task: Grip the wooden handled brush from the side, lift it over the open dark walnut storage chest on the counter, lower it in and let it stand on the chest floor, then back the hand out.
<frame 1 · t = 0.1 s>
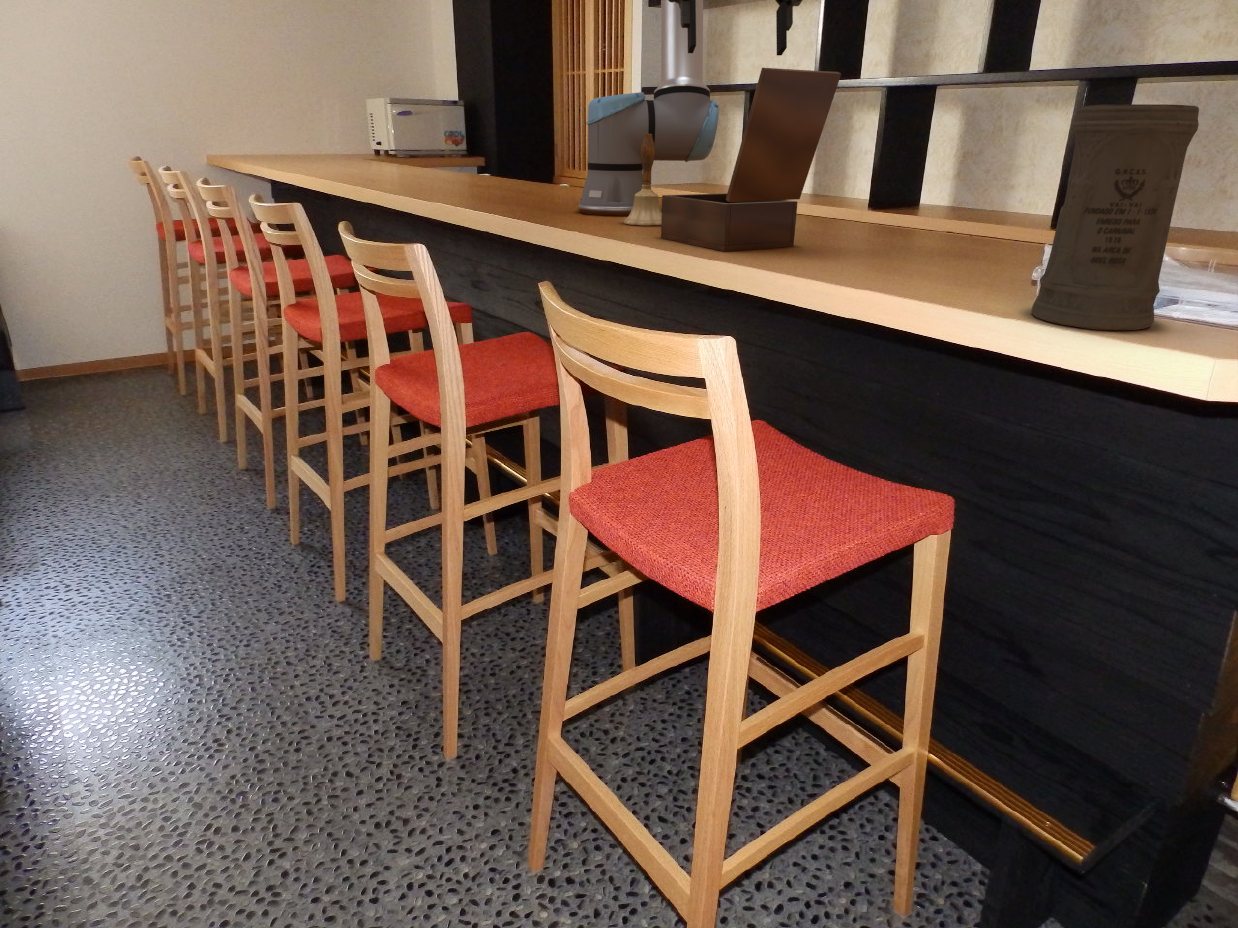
hand: (737, 51, 125), 28 cm above the table, tool tilted 20°, fingers open, 13 cm apart
chest lid: (782, 138, 120), point 16 cm above the table, hinge at 110.0°
wooden handled brush: (645, 224, 160), on the table
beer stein: (1082, 316, 86), on the table
chest: (725, 242, 136), on the table
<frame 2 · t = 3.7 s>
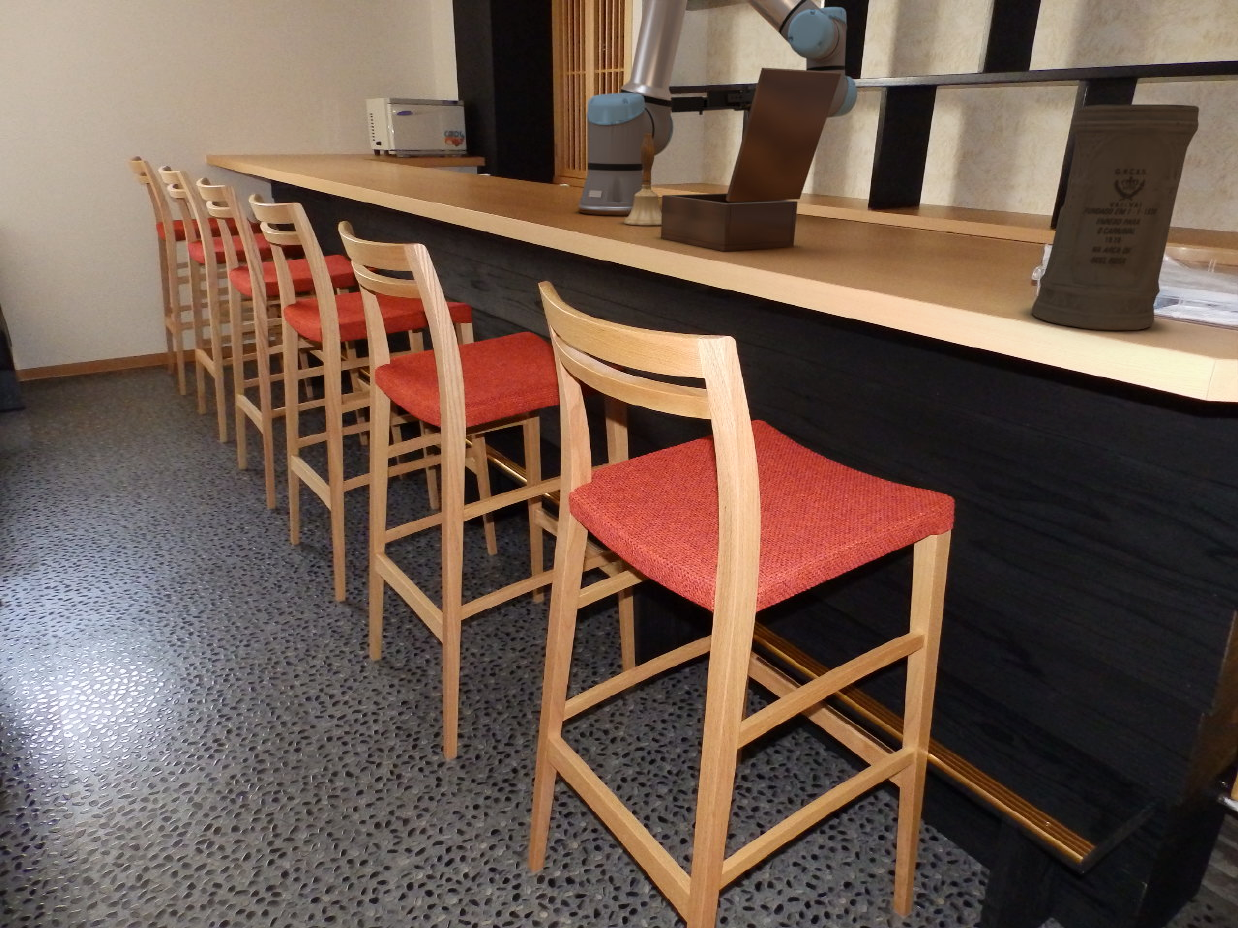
hand: (689, 102, 156), 21 cm above the table, tool horizontal, fingers open, 13 cm apart
nothing on the table moved.
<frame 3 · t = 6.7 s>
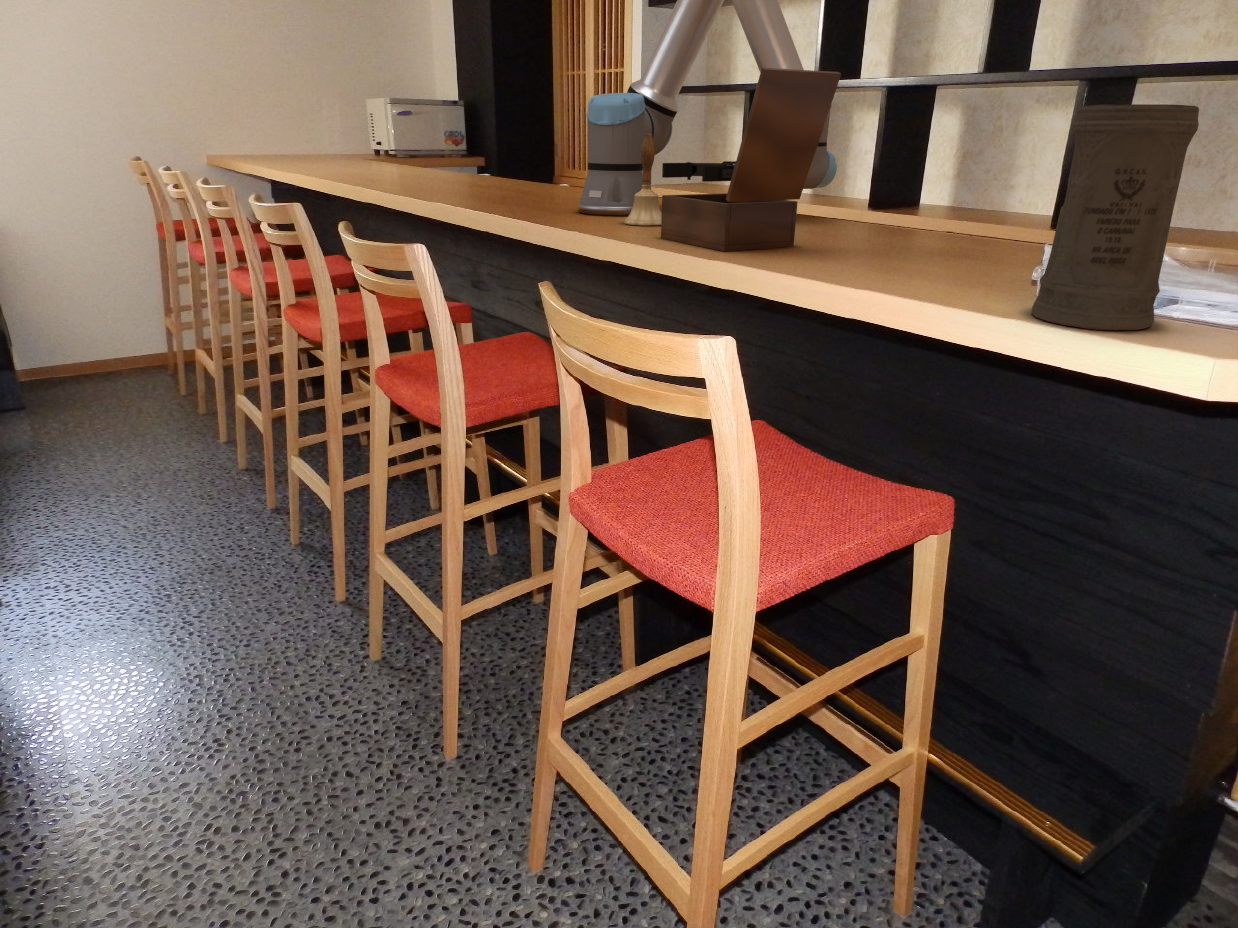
hand: (682, 172, 160), 9 cm above the table, tool horizontal, fingers open, 13 cm apart
nothing on the table moved.
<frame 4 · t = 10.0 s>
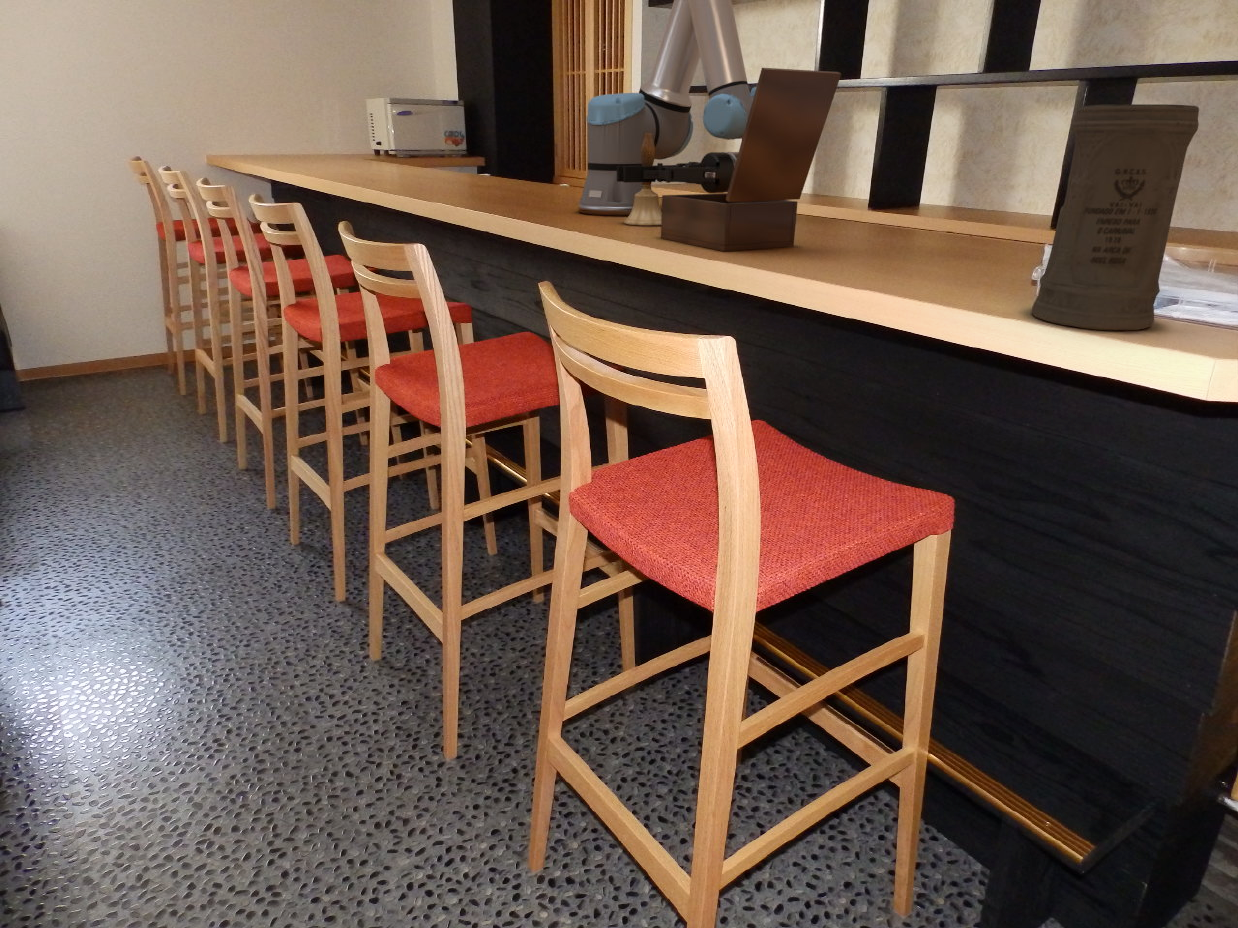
hand: (621, 174, 154), 9 cm above the table, tool horizontal, fingers closed on wooden handled brush, 2 cm apart
wooden handled brush: (645, 224, 160), on the table, touching gripper
everything else where it was.
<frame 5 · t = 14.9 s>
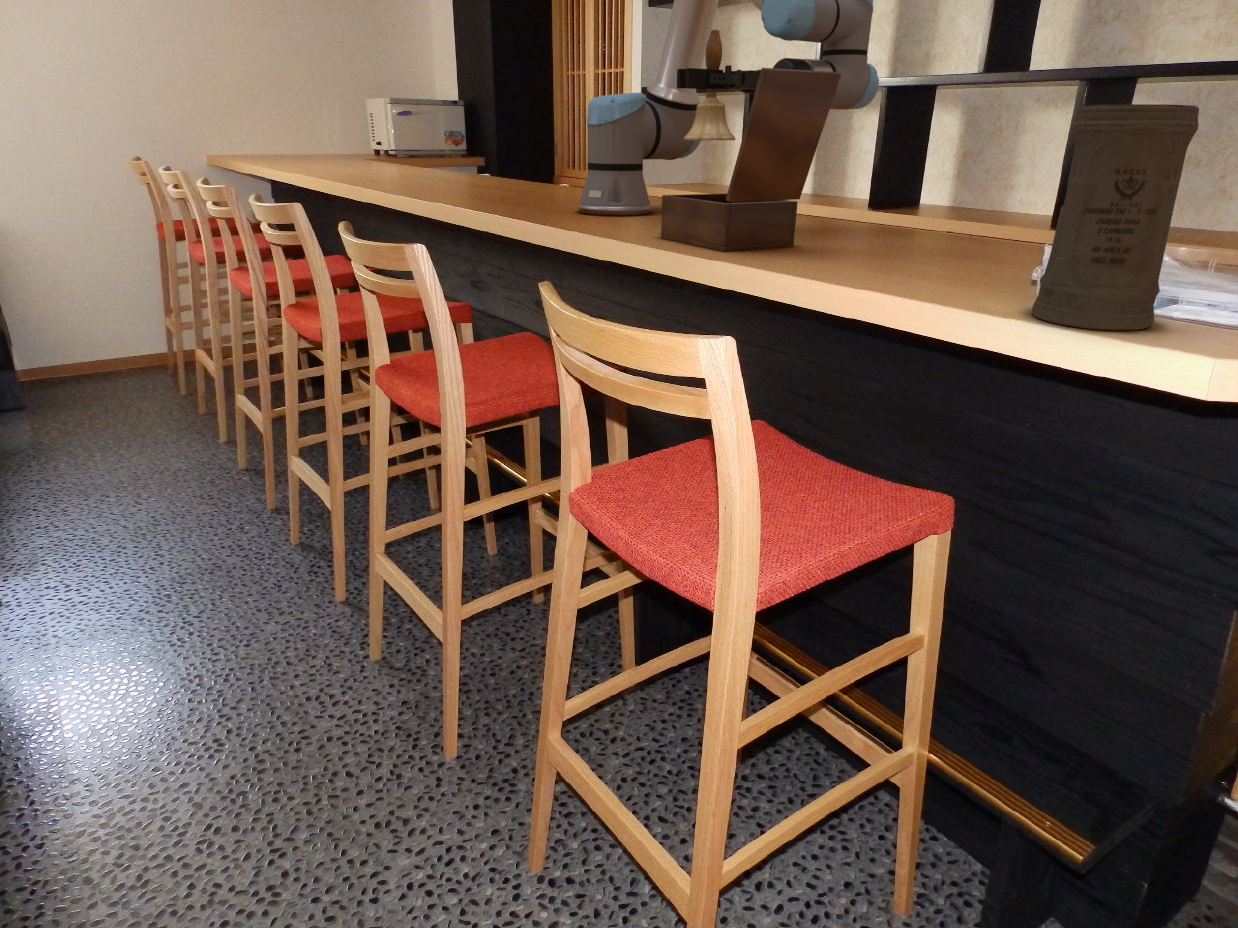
hand: (682, 78, 130), 24 cm above the table, tool horizontal, fingers closed on wooden handled brush, 2 cm apart
wooden handled brush: (709, 141, 136), point 15 cm above the table, touching gripper
everything else where it was.
when the fingers open (10 cm above the table, at t = 19.9 s): wooden handled brush stays where it is, resting on chest.
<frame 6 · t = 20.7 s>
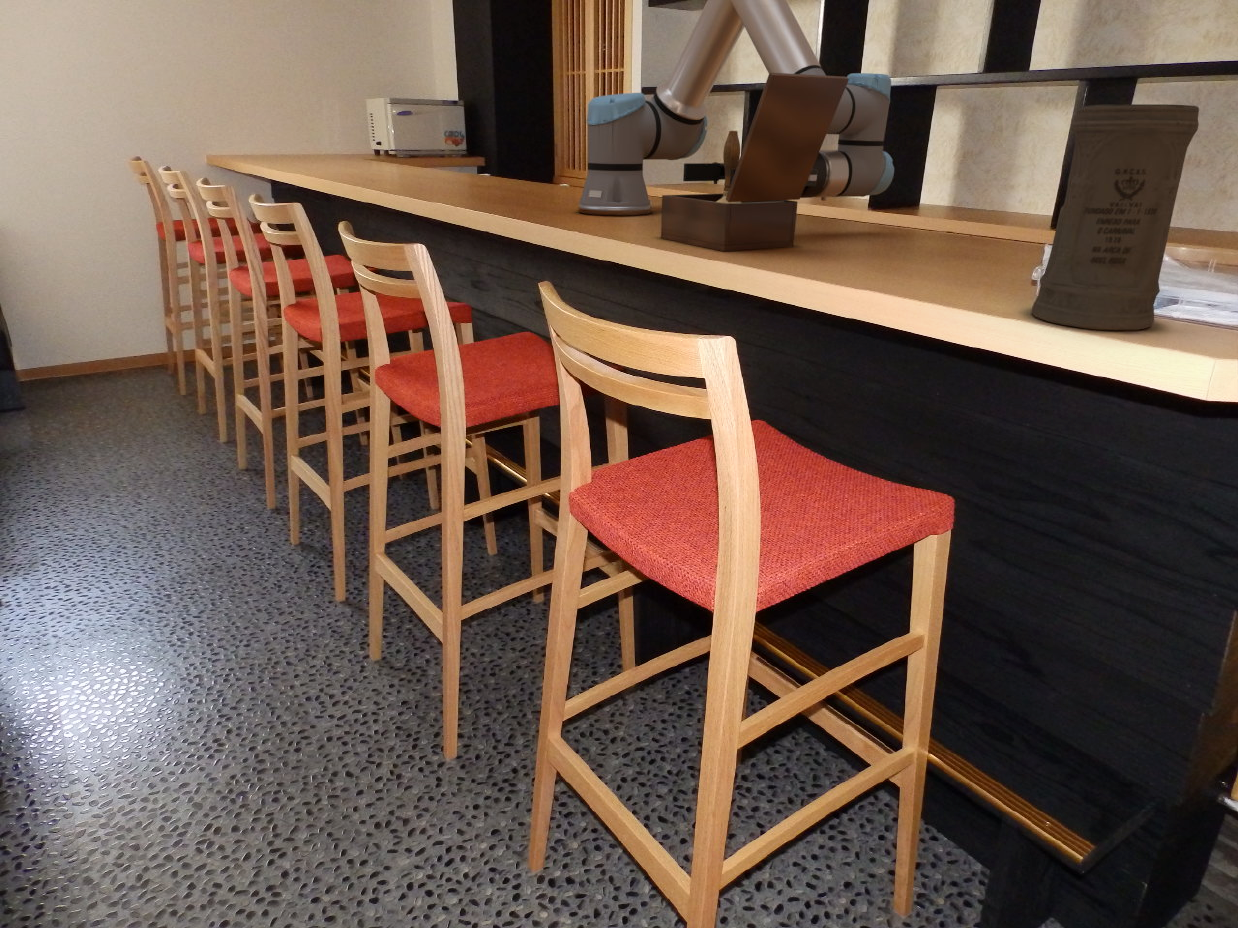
hand: (707, 175, 131), 10 cm above the table, tool horizontal, fingers open, 12 cm apart
chest lid: (785, 141, 120), point 16 cm above the table, hinge at 115.5°, touching hand
wooden handled brush: (726, 238, 135), point 1 cm above the table, touching chest
everything else where it was.
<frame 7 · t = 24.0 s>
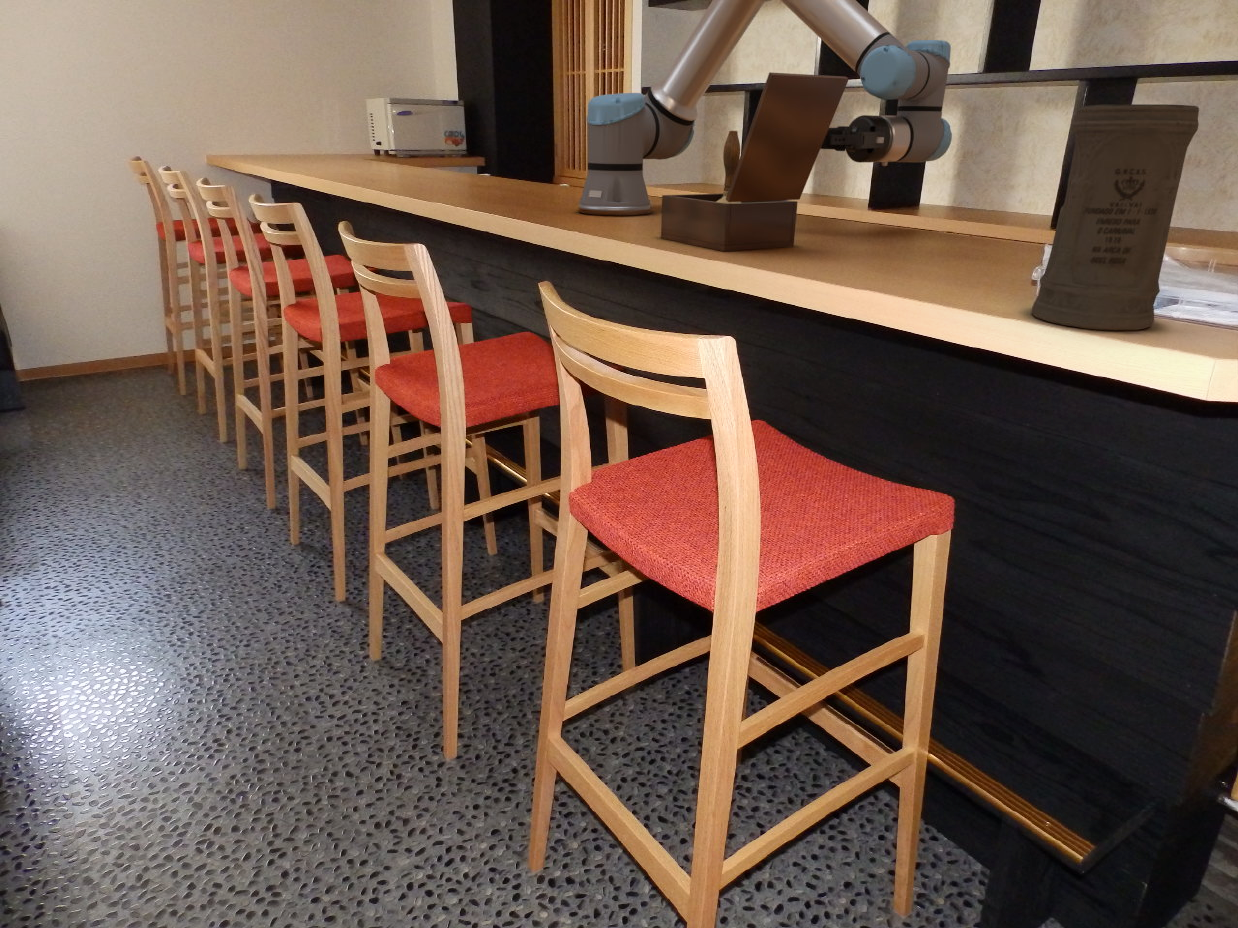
hand: (779, 138, 134), 16 cm above the table, tool horizontal, fingers open, 13 cm apart
chest lid: (785, 141, 120), point 16 cm above the table, hinge at 115.4°
everything else where it was.
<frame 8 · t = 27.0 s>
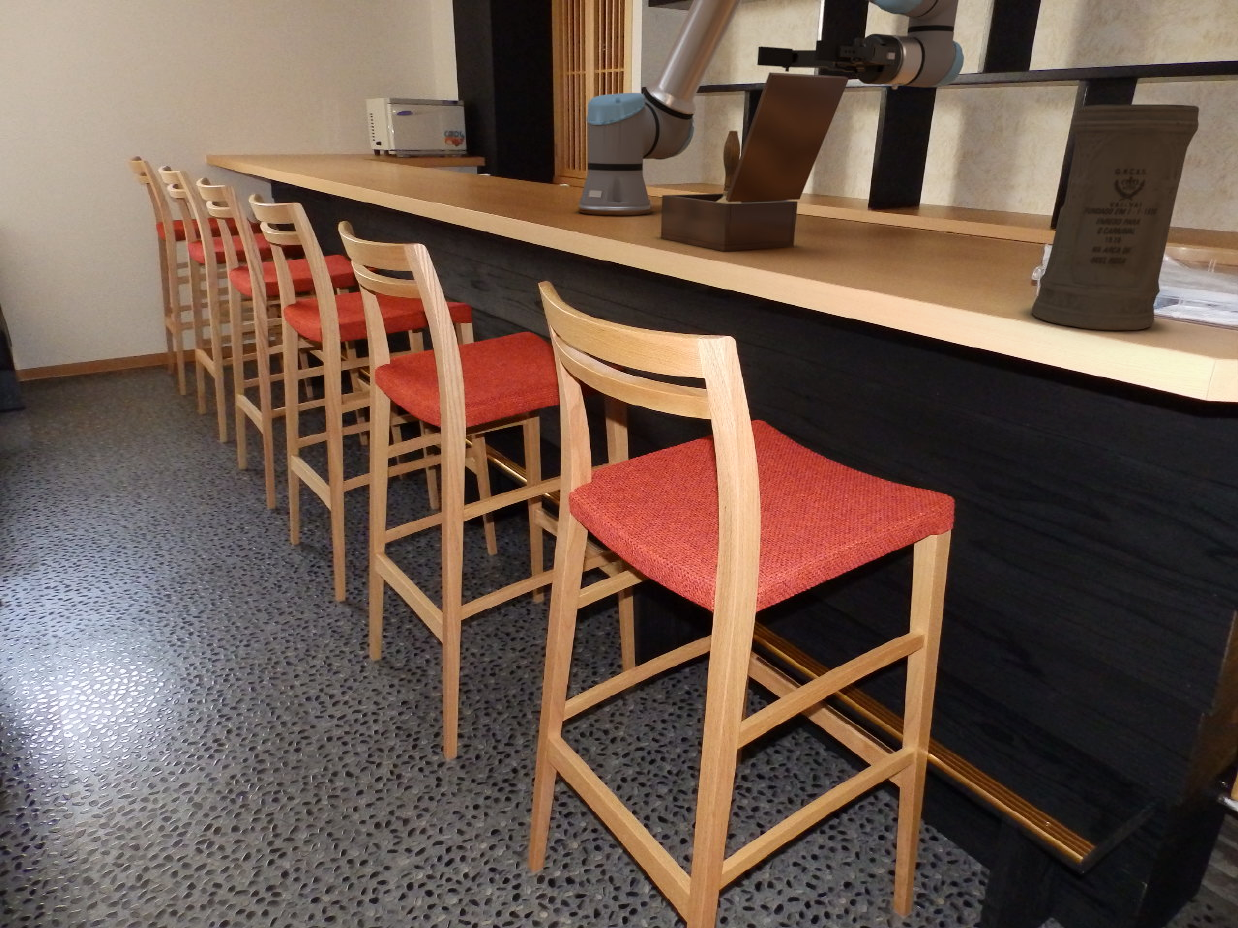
hand: (786, 53, 130), 28 cm above the table, tool horizontal, fingers open, 13 cm apart
nothing on the table moved.
at the end: wooden handled brush inside the target area in the chest (0.2 cm from its centre), point 0.6 cm above the chest's base; wooden handled brush tilted 0°; the gripper is holding nothing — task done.
